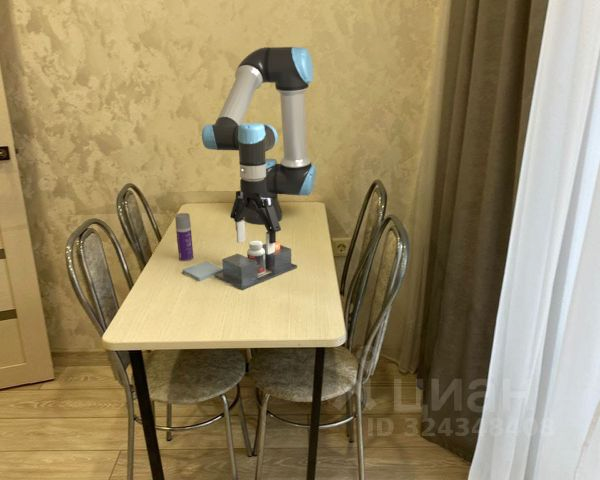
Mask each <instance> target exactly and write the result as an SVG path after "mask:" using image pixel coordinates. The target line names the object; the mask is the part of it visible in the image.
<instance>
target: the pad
mask: <svg viewBox="0 0 600 480" xmlns="http://www.w3.org/2000/svg"><path fill="white" fill-rule="evenodd" d="M221 272H223V267H219V266H218V265H217V264H213V263H211V262H209V261H207V260H206V261H203V262H200V263H196V264H195V265H192V266H188V267H185V268H183V269H182V273H183V274H185V275H186V276H189V277H190V278H193V279H195V280H196V281H199V282H201V281H203V280H206V279H209V278H211V277H215V274H218V273H221Z"/></svg>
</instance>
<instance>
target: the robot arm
mask: <svg viewBox="0 0 600 480" xmlns="http://www.w3.org/2000/svg"><path fill="white" fill-rule="evenodd" d="M234 78H235V80H234V82H233V84H232V87H231V88H230V90H229V93H228V94H227V97H226V98H225V101H224V104H223V106H222V108H221V110H220V113H219V114H218V116H217V119H216V121H215V122H214V124H213V123H210V124H206V125H204V127H203V128H202V131H201V141H202V144H203V147H204V148H205V149H207V150H213V151H215V150H216V151H238V156H239V157H238V159H239V162H238V163H239V177H240V180H239V185H240V190H237V191H235V200H234V202H233V206H232V209H231V211H230V212H231V213H230V219H233V221H234V222H235V230H236V243H237V244H241V243H243V242H246V226H245V224H246V223H245V222H247V223H250V224H255V225H264V227H265V229H266V232H265V244H266V254H271V253H273V252H275V242H276V240H277V237H276V235H277V233H278V232H280V231H282V227H281V225H280V221H282V220H283V210H282V208H281V204H280V202H279V198H278V197H279V196H278V195H287V196H298V197H300V196H310V195H311V194H312V192H313V191H314V188H315V183H316V178H317V166H316V165H315V164H312V159H311V158H310V157H309V156H308V151H307V150H308V149H307V145H308V144H307V128H306V127H307V125H306V95H305V92H306V91H307V90H308V88H309V84H311V83H312V82H313V79H314V66H313V59H312V56H311V54H310V51H309V50H308V49H307V48H306V47H298V46H283V47H282V46H280V47H279V46H278V47H277V46H276V47H272V46H271V47H269V46H267V47H266V46H265V47H261V48H258V49H256V50H253V51H251V53H249V54H248V55H247V56H245V58H243V60H242V61H240V63H239V64H238V66H237V68H236V70H235V73H234ZM265 83H274V87H275V90H276V91H277V92H279V94H280V95H279V96H280V97H279V98H280V111H281V113H280V114H281V115H280V116H281V128H282V129H281V130H282V143H283V145H282V146H283V147H282V148H283V156H282V157H283V158H281V159H280V163H278V161H277V159H275V158H266V152H268V151H269V150H271V149H272V148H274V147H275V145H277V142H278V136H279V135H278V132H277V130H276V129H275V127H273V126H272V125H270V124H263V123H260V122H244V123H243V121H244V119H245V116H246V114H247V112H248V110H249V107H250V105H251V102H252V100H253V98H254V95H255V92H256V90H258V89H260V87H261V86H262V84H265ZM276 232H277V233H276Z"/></svg>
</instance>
